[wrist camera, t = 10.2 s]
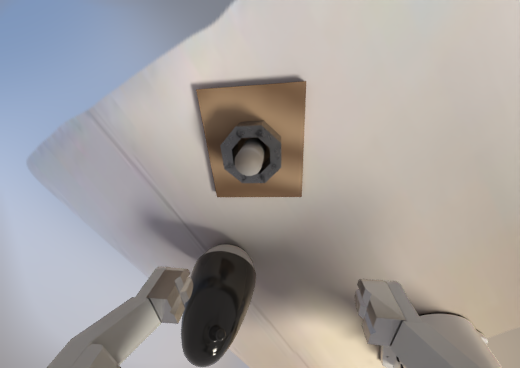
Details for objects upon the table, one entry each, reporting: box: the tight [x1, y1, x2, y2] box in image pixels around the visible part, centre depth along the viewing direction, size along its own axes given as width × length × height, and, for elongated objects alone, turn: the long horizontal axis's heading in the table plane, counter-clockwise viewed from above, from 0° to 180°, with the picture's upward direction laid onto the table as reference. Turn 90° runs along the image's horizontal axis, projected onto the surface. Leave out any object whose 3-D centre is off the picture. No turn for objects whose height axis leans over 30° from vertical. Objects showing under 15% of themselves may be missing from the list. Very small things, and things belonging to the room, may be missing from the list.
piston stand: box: [196, 81, 306, 197], centre depth 22 cm, size 14×12×6 cm
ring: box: [220, 120, 281, 183], centre depth 22 cm, size 7×7×3 cm
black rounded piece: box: [181, 244, 256, 367], centre depth 28 cm, size 10×10×15 cm
